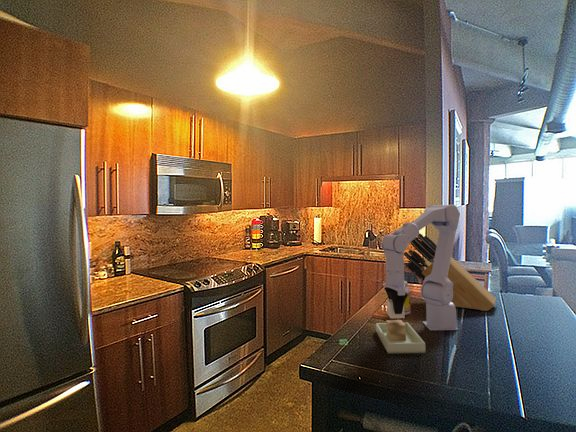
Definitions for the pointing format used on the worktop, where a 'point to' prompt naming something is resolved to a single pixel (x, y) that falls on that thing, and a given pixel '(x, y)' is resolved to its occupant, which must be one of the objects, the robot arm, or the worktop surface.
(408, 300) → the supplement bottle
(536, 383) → the worktop surface
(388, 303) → the cream box
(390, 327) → the oak block
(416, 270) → the knife block
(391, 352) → the tote tray
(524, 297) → the worktop surface
